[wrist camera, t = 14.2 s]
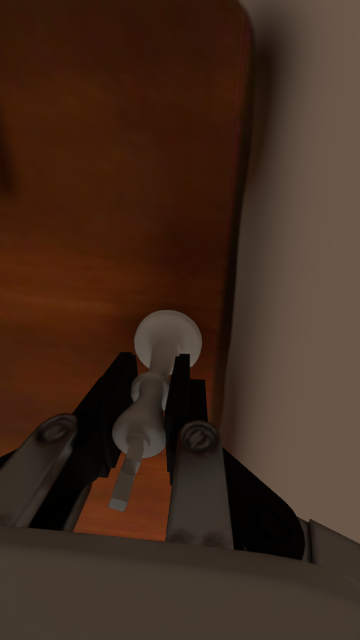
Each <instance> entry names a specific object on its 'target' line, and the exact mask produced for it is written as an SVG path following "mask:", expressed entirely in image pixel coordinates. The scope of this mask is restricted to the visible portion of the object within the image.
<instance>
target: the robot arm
mask: <svg viewBox="0 0 360 640" xmlns="http://www.w3.org/2000/svg"><path fill="white" fill-rule="evenodd" d="M137 376H138V372H137V361H136V356H135V355H133V354H132V352H120V354H119V355H118V356H117V357H116V359H115V360H114V361H113V363H112V364H111V365H110V367H109V368H108V369H107V371H106V372H105V373H104V375H103V376H102V377H100V378H99V379H98V381H97V382H96V383H95V385H94V386H93V387H92V389H91V390H90V391H89V392H88V394H87V395H86V396H85V398H84V399H83V400H82V402H81V403H80V404H79V405H78V407H77V408H76V409H75V411H74V412H73V413H72V414H70V413H63V414H59V415H55V416H53V417H51V418H49V419H47V420H45V421H44V422H42V423H41V424H40V425H39V426H38V427H37V428H36V429H35V430H34V431H33V432H32V433H31V435H30V436H29V437H28V438H27V439H26V440H25V441H24V442H23V444H22V445H21V446H20V447H19V448H18V449H16V450H14V451H12V452H10V453H8V454H6V455H4V456H2V457H0V640H360V544H359V543H357V542H355V541H353V540H351V539H349V538H347V537H345V536H343V535H341V534H339V533H337V532H335V531H333V530H331V529H329V528H327V527H325V526H323V525H321V524H319V523H317V522H315V521H313V520H311V519H310V521H309V523H308V522H306V521H305V520H302V519H300V518H299V517H297V516H296V514H295V513H294V511H293V510H292V509H291V508H290V507H289V506H288V504H287V503H286V502H285V501H284V500H282V499H281V498H280V497H279V496H278V495H277V494H276V493H274V492H273V491H272V490H271V489H270V488H269V487H268V486H266V485H265V484H264V483H263V482H262V481H260V480H259V479H258V478H257V477H256V476H255V475H254V474H253V473H252V472H250V471H249V470H248V469H247V468H246V467H244V466H243V465H242V464H241V463H240V462H239V461H238V460H237V459H235V458H234V457H233V456H232V455H231V454H230V453H228V452H227V451H226V450H225V449H224V448H223V447H222V440H221V436H220V433H219V431H218V429H217V428H216V427H215V426H214V425H213V424H211V423H209V422H208V418H207V403H206V388H205V380H197V379H190V354H179V356H175V361H174V366H173V371H172V376H171V381H170V386H169V391H168V396H167V401H166V406H165V434H166V454H167V472H170V485H171V486H172V489H171V497H170V506H169V514H168V522H167V530H166V538H165V542H163V541H153V540H144V539H134V538H125V537H115V536H105V535H95V534H85V533H75V532H73V530H74V528H75V526H76V523H77V521H78V519H79V516H80V514H81V511H82V509H83V507H84V504H85V502H86V500H87V497H88V495H89V493H90V490H91V487H92V482H93V481H95V480H96V479H97V478H98V477H104V478H107V477H108V475H109V472H110V470H111V468H115V466H116V464H117V461H118V459H119V456H120V454H121V450H120V449H119V448H118V447H117V445H116V444H115V442H114V440H113V437H112V428H113V425H114V423H115V422H116V420H117V419H118V418H119V416H120V415H121V414H122V413H123V412H124V411H126V410H127V409H128V408H129V407H130V406H131V405H132V404H133V403H134V401H133V399H132V397H131V385H132V382H133V381H134V379H135V378H136V377H137Z"/></svg>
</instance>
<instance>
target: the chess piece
mask: <svg viewBox="0 0 360 640" xmlns="http://www.w3.org/2000/svg"><path fill="white" fill-rule="evenodd" d="M134 346H135V350H136V353H137V355H138V357H139V359H140V360H141V362H142V363H143V364H144V365H145V366H146V367H148V368H149V371H148V372H147V373H143V374H141V375H139V376H137V377H136V378H135V379H134V381H133V382H132V385H131V397H132V399H133V401H134V403H133V404H132V405H131V406H130V407H129V408H128V409H127V410H126V411H124V412H123V413H122V414H121V415H120V416H119V418H118V419H117V420H116V422H115V423H114V425H113V428H112V437H113V440H114V442H115V444H116V445H117V447H118V448H119V449H120V450H121V451H123V452H124V453H126V457H125V459H124V462H123V465H122V468H121V471H120V473H119V476H118V479H117V481H116V484H115V487H114V490H113V493H112V497H111V500H110V503H109V506H108V507H110V508H113V509H116V510H119V511H122V512H124V510H125V508H126V505H127V503H128V500H129V496H130V492H131V489H132V485H133V481H134V478H135V475H136V473H137V470H138V468H139V466H140V463H141V460H142V458H148V457H152V456H154V455H156V454H158V453H159V452H161V451H162V450H163V448H164V447H165V445H166V434H165V420H164V416H163V410H165V406H166V401H167V396H168V391H169V386H170V380H169V379H168V376H169V375H171V374H172V371H173V366H174V361H175V356H179V354H190V367H192V366H193V365H194V363H195V362H196V361H197V359H198V357H199V355H200V351H201V347H202V337H201V333H200V330H199V328H198V327H197V325H196V324H195V323H194V321H193V320H192V319H190V318H189V317H188V316H186V315H185V314H183V313H180V312H178V311H173V310H161V311H156V312H154V313H152V314H150V315H148V316H147V317H145V318H144V319H143V320H142V322H141V323H140V324H139V326H138V328H137V331H136V334H135V339H134Z"/></svg>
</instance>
